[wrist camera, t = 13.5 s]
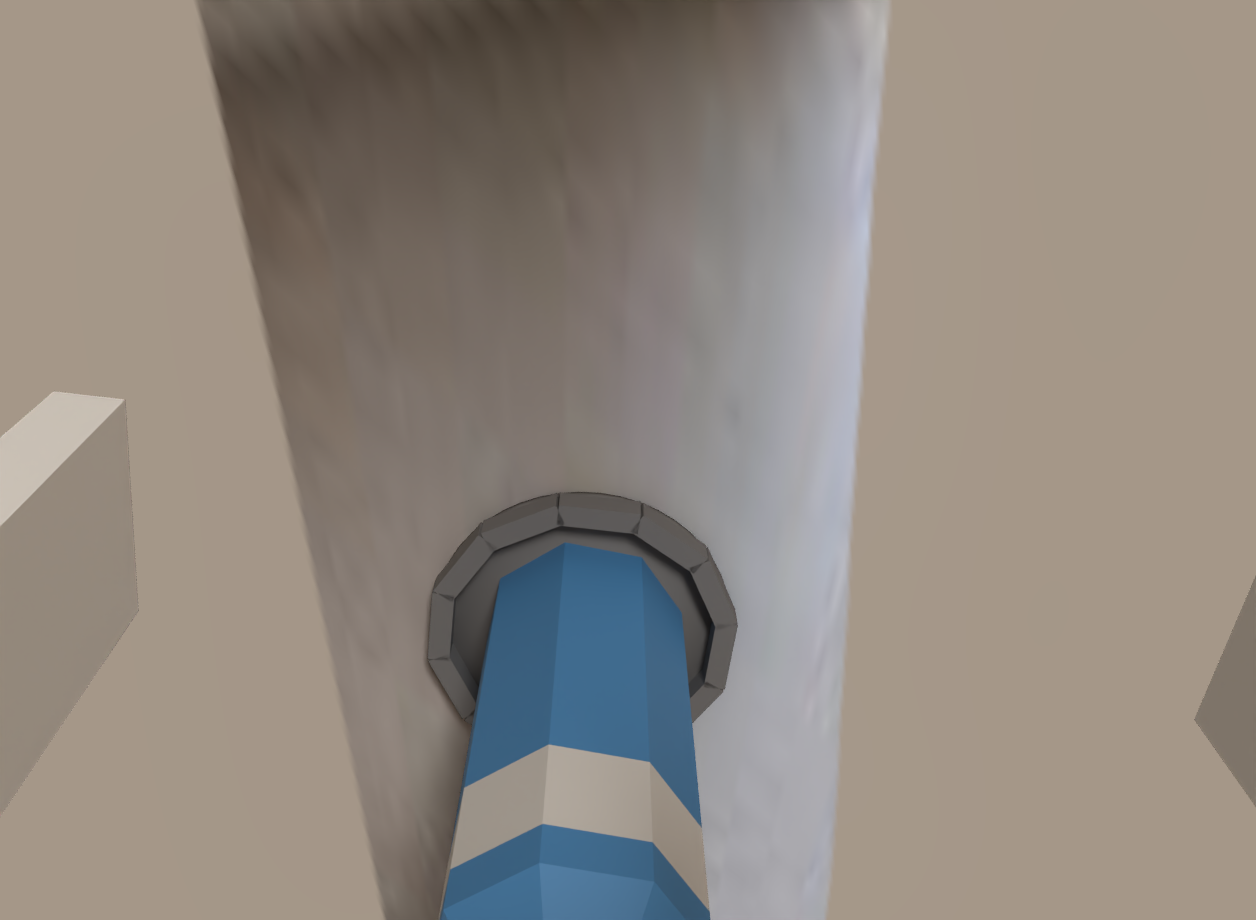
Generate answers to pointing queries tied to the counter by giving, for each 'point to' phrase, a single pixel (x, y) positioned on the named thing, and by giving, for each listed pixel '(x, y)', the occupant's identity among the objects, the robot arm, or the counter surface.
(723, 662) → the coaster ring
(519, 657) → the water bottle
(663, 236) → the counter surface
